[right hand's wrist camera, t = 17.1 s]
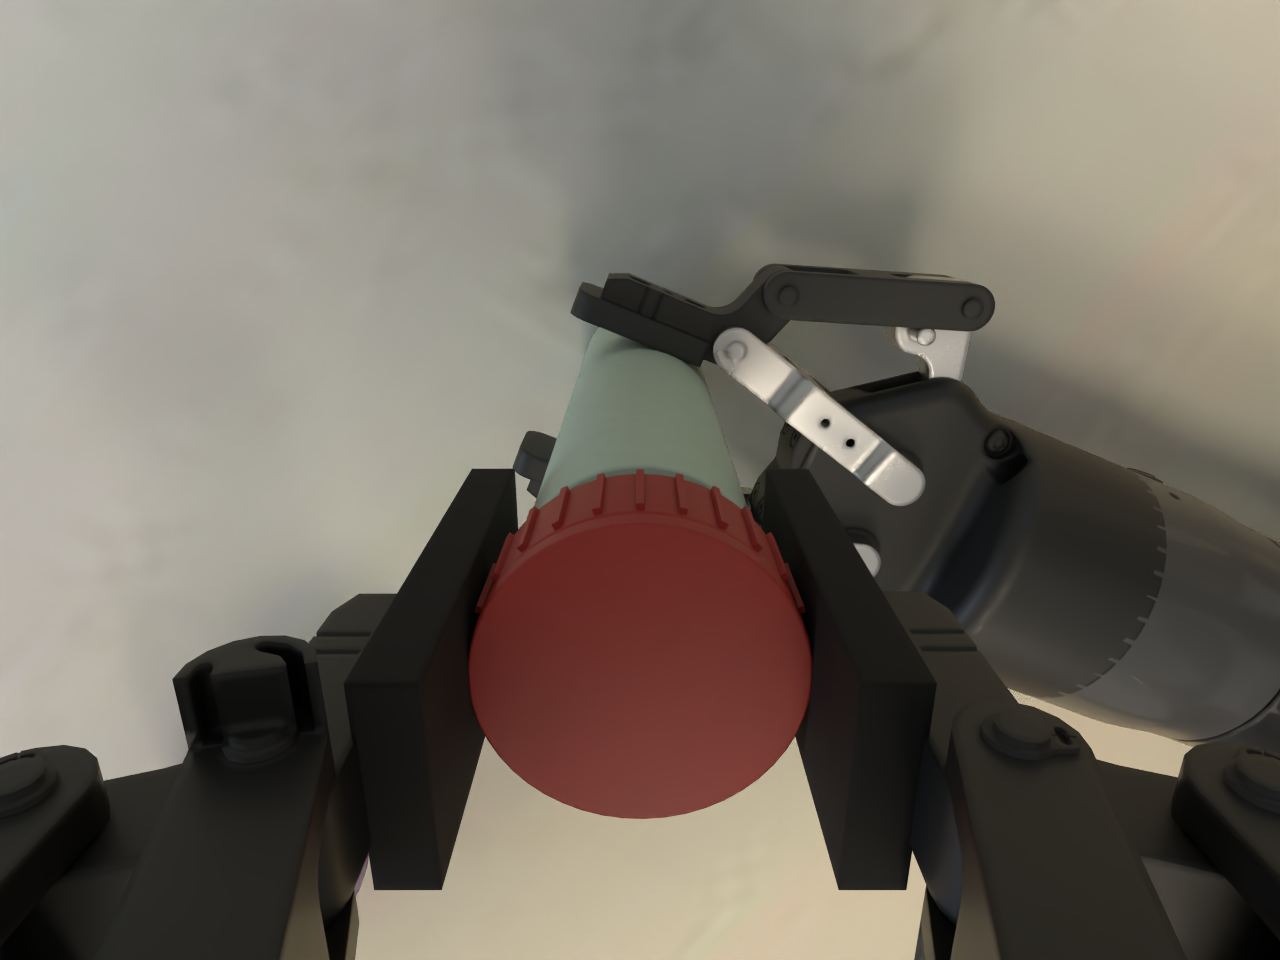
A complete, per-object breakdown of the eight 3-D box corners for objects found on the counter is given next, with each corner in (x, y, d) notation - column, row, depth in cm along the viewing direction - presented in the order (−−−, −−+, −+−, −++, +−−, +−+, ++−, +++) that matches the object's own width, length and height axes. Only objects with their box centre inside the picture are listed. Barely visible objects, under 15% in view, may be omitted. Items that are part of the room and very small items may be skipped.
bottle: (562, 366, 29) (442, 641, 11) (637, 283, 28) (632, 445, 10) (643, 438, 30) (647, 795, 12) (718, 360, 29) (840, 628, 11)
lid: (834, 507, 11) (869, 563, 10) (742, 762, 13) (759, 851, 11) (519, 433, 11) (496, 480, 9) (464, 706, 13) (435, 789, 11)
